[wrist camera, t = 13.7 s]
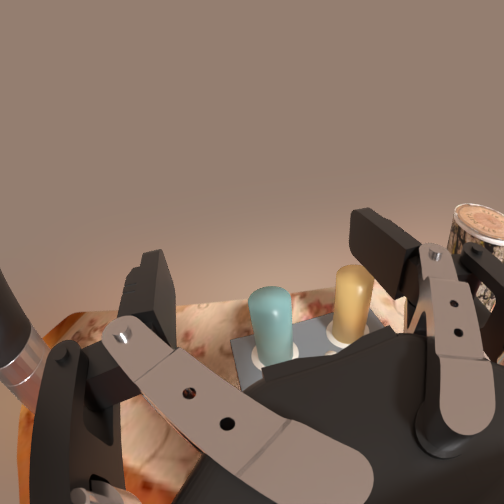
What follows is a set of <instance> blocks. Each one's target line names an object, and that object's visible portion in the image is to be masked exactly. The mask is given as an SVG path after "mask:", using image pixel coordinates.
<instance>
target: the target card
mask: <svg viewBox="0 0 504 504" xmlns="http://www.w3.org/2000/svg"><path fill="white" fill-rule="evenodd" d="M333 315H334V312H332V313H329V314H326V315H323V316H319V317H316V318H313V319H309V320H306V321H302V322H299V323H295V324H292V330H293V358H292V359H295V358H304V357H315V356H324V355H333V354H336V353H338V352H339V351H341V350H343V349H344V348H346V347H347V346H349V345H350V344H344V343H341V342H339V341H337V340H336V339H335V338H334V337H333V335H332V325H333ZM382 328H384V326H383V324H382V323H381V322H380V320H379V319H378V318H377V317H376V315H375V314H374V313H373V311H372V310H371V309H370V308H369V312H368V317H367V322H366V326H365V331H364V335H366V334H369V333H372V332H374V331H377V330H379V329H382ZM364 335H363V336H364ZM230 342H231V346H232V351H233V355H234V360H235V364H236V369H237V373H238V377H239V382H240V386H241V390H242V391H244V390H245V389H246V388H247V387H249V386H250V385H252V384H253V383H255V382H256V381H258V380H260V379H262V378H263V376H262V370H261V368H262V367H266V366H264V365H263V364H262V363H261V362H260V361H259V358H258V353H257V348H256V343H255V337H254V334H253V335H249V336H245V337H241V338H236V339H232V340H230Z"/></svg>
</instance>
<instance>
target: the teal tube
mask: <svg viewBox="0 0 504 504" xmlns="http://www.w3.org/2000/svg"><path fill="white" fill-rule="evenodd" d="M248 306H249V311H250V316H251V322H252V327H253V332H254V337H255V343H256V348H257V353H258V358H259V361H260V362H261V363H262V364H263V365H264V366H270V365H274V364H277V363H281V362H285V361H288V360H292V358H293V330H292V308H291V296H290V294H289V293H288V292H287V291H286V290H285V289H283V288H280V287H276V286H268V287H263V288H260V289H258V290H256V291H254V292H253V293H252V294H251V295H250V297H249V299H248Z"/></svg>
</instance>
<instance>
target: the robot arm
mask: <svg viewBox="0 0 504 504" xmlns="http://www.w3.org/2000/svg"><path fill="white" fill-rule="evenodd" d="M349 247H350V251H351V253H352V255H353V256H354V257H355V258H356V259H357V260H358V261H359V262H360V263H361V264H362V265H363V266H364V267H365V269H366V270H367V271H368V272H369V273H370V274H371V275H372V276H373V277H374V278H375V279H376V280H377V282H378V283H379V284H380V285H381V286H382V287H383V288H384V289H385V290H386V292H387V293H388V294H389V295H390V296H391V297H392V298H393V299H394V300H396V299H398V298H401V297H403V296H405V297H406V301H405V304H404V333H397V334H396V333H395V332H394V331H393V329H392V328H391V327H390V325H389V326H386V327H384V328H382V329H379V330H377V331H374V332H372V333H369V334H366V335H364V336H362V337H360V338H359V339H357V340H356V341H355V342H353V343H352V344H350V345H349V346H347V347H346V348H344V349H343V350H341V351H339V352H338V353H336V354H333V355H324V356H315V357H304V358H295V359H292V360H288V361H285V362H281V363H277V364H274V365H270V366H266V367H262V368H261V370H262V376H263V378H262V379H260V380H258V381H256V382H255V383H253V384H252V385H250V386H249V387H247V388H246V389H245V390H244V391H242V392H241V391H240V390H238V389H237V388H235V387H234V386H232V385H231V384H229V383H228V382H227V381H225V380H224V379H222V378H221V377H220V376H218V375H217V374H215V373H214V372H213V371H211V370H210V369H209V368H207V367H206V366H205V365H203V364H202V363H201V362H199V361H198V360H197V359H195V358H194V357H193V356H191V355H190V354H189V353H188V352H186V351H185V350H184V349H182V348H180V347H177V345H176V305H175V304H176V300H175V298H176V296H175V288H174V284H173V281H172V278H171V275H170V272H169V269H168V266H167V263H166V260H165V257H164V254H163V251H162V250H161V249H159V250H154V251H150V252H146V253H143V255H142V260H141V264H140V267H135V268H133V269H132V270H131V272H130V273H129V274H128V276H127V277H126V281H125V287H124V289H123V295H122V297H121V302H120V306H119V311H118V315H117V319H115V320H113V321H112V322H110V323H109V324H108V325H107V326H106V327H105V329H104V331H103V333H102V340H101V341H99V342H96V343H94V344H92V345H90V346H87V347H85V348H83V349H81V347H80V346H79V345H78V343H77V342H75V341H73V340H65V341H62V342H60V343H58V344H57V345H56V346H54V347H53V348H52V350H50V348H49V347H48V346H47V345H46V343H45V342H44V341H43V339H42V338H41V337H40V335H39V334H38V333H37V331H36V330H35V328H34V327H33V325H32V324H31V322H30V321H29V319H28V318H27V317H26V315H25V313H24V312H23V310H22V308H21V307H20V305H19V303H18V302H17V300H16V298H15V296H14V295H13V293H12V291H11V289H10V287H9V286H8V284H7V282H6V280H5V278H4V276H3V274H2V272H1V269H0V381H1V382H2V383H3V384H4V385H5V386H6V387H7V388H8V389H9V390H10V391H11V392H12V393H13V394H14V395H15V396H16V397H17V399H18V400H19V401H20V402H21V403H22V404H24V405H25V406H26V407H27V408H28V409H29V410H30V411H31V412H33V413H34V414H35V418H34V425H33V433H32V442H31V454H30V477H29V490H30V504H141V502H140V501H139V499H138V498H137V497H136V496H135V495H133V494H132V493H130V492H128V491H126V488H125V480H124V471H123V460H122V447H121V426H120V402H123V401H125V400H127V399H130V398H132V397H135V396H137V395H139V394H141V395H142V396H143V397H144V398H145V399H146V400H147V401H148V402H149V404H150V405H151V406H152V407H153V408H154V409H155V410H156V411H157V412H158V413H159V414H160V415H161V416H162V417H163V418H164V419H165V420H166V421H167V422H168V423H169V424H170V425H171V426H172V427H173V428H174V429H175V430H176V431H177V432H178V433H179V434H180V435H181V436H182V437H183V438H184V439H185V440H186V441H187V442H188V443H189V444H190V445H192V446H193V447H194V448H195V449H196V450H197V451H198V452H200V453H201V454H202V455H201V457H200V459H199V460H198V462H197V464H196V465H195V467H194V468H193V470H192V472H191V473H190V475H189V477H188V478H187V480H186V481H185V483H184V484H183V486H182V488H181V489H180V491H179V492H178V494H177V495H176V497H175V498H174V500H173V501H172V503H171V504H504V263H502V262H501V261H500V260H499V259H498V258H497V257H495V256H494V255H493V254H492V253H491V252H489V251H488V250H487V249H486V248H484V247H483V246H481V245H479V244H477V243H473V242H467V243H465V244H464V245H463V247H462V251H461V254H451V253H450V252H449V251H448V250H447V249H446V248H444V247H442V246H440V245H438V244H434V243H425V244H421V243H420V242H419V241H417V240H416V239H415V238H413V237H412V236H411V235H409V234H408V233H407V232H404V230H403V229H401V228H400V227H398V226H397V225H396V224H395V223H393V222H392V221H391V220H388V219H386V218H383V217H382V216H380V215H379V214H378V213H376V212H375V211H373V210H372V209H370V208H363V209H357V210H353V211H352V213H351V218H350V235H349ZM481 282H482V283H483V284H484V285H485V286H486V287H487V288H488V289H489V290H490V291H491V292H492V293H493V294H494V296H495V299H496V304H495V307H494V309H493V311H492V313H491V312H490V311H489V310H488V309H487V308H486V306H485V305H484V304H483V303H482V302H481V301H480V300H479V299H478V298H477V297H476V293H477V291H478V289H479V286H480V284H481ZM483 351H484V352H485V353H486V355H487V356H488V357H489V359H490V360H491V361H489V360H488V359H486V358H485V357H484V353H483Z"/></svg>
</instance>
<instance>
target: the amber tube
mask: <svg viewBox="0 0 504 504" xmlns="http://www.w3.org/2000/svg"><path fill="white" fill-rule="evenodd" d="M373 284H374V277H373V276H372V275H371V274H370V273H369V272H368V271H367V270H366V269H365V267H364V266H361V265H347V266H344V267H342V268H340V269H339V270H338V272H337V274H336V289H335V303H334V315H333V325H332V335H333V337H334V338H335V339H336V340H337V341H339V342H341V343H344V344H352V343H353V342H355V341H356V340H357V339H359V338H360V337H362V336H363V335H364V331H365V326H366V322H367V317H368V312H369V307H370V301H371V296H372V290H373Z"/></svg>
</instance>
